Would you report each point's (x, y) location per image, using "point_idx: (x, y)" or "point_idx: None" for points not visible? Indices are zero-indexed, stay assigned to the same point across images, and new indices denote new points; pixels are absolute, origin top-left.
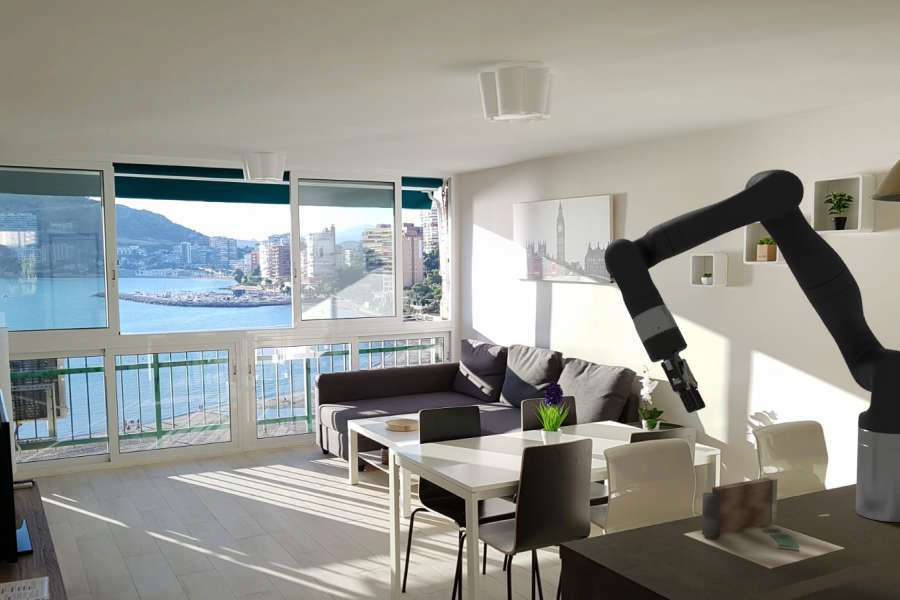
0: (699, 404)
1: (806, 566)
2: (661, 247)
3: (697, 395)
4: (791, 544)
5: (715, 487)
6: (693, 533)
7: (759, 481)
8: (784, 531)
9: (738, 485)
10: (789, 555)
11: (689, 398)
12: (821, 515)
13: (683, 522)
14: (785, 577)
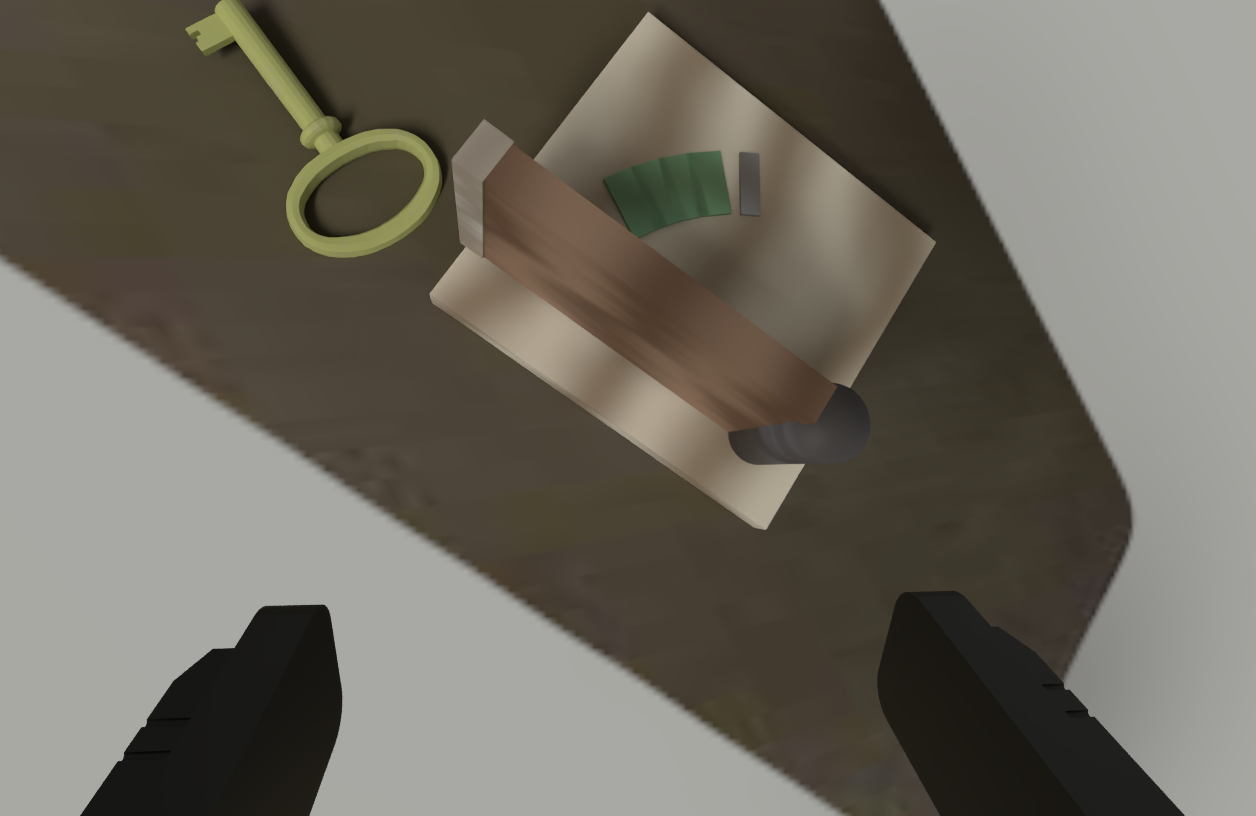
0: (308, 696)
1: None
2: None
3: (239, 804)
4: (708, 172)
5: (808, 408)
6: (742, 497)
7: (585, 209)
8: None
9: (718, 307)
10: (803, 185)
11: (1107, 750)
12: (249, 32)
13: (519, 573)
14: None
